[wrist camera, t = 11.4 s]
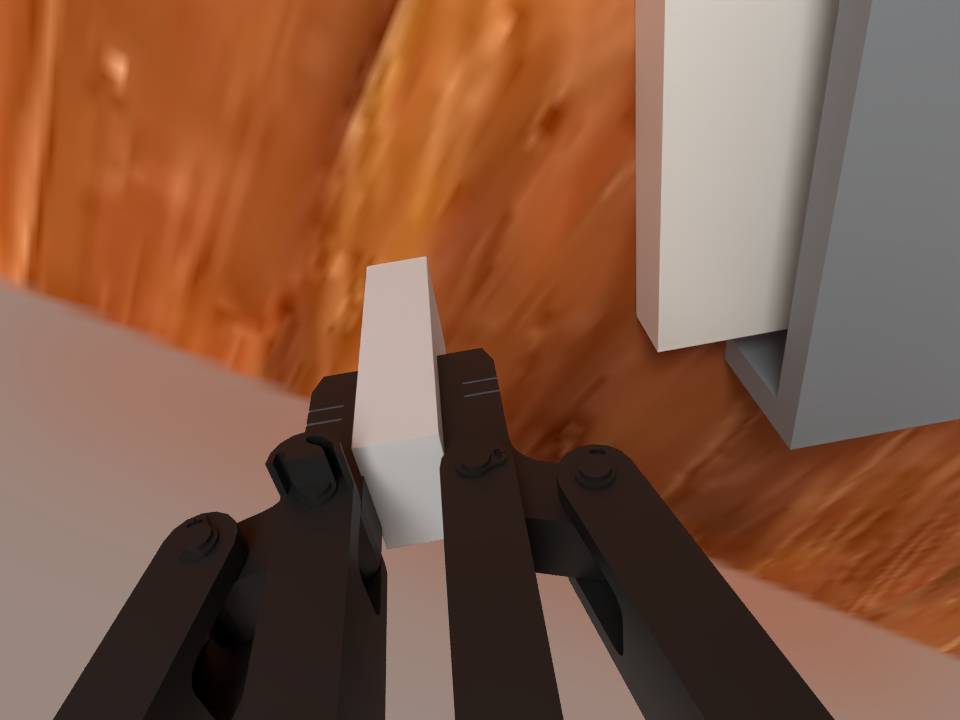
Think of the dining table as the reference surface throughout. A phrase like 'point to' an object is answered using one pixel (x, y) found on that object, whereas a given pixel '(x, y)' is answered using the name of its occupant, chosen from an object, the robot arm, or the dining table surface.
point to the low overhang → (874, 239)
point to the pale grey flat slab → (724, 161)
